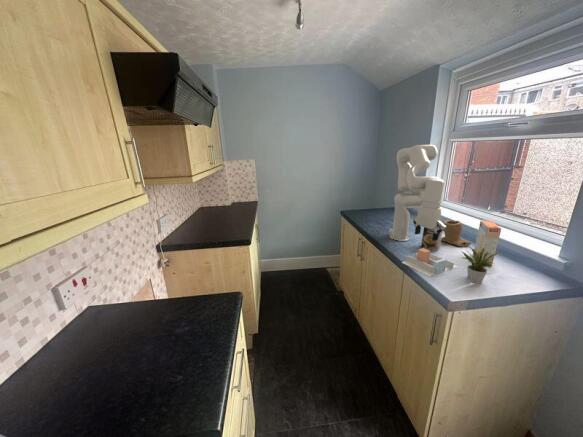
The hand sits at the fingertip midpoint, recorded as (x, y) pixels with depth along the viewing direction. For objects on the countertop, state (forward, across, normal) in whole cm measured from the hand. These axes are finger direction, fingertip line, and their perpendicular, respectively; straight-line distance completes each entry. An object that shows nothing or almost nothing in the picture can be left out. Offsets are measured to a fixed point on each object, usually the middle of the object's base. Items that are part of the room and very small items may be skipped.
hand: (425, 237), depth 118 cm
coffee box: (+17, -12, +23) cm, 31 cm away
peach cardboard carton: (+15, +1, 0) cm, 15 cm away
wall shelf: (+16, +2, +3) cm, 16 cm away
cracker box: (+17, +10, +35) cm, 40 cm away
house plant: (+16, +21, +10) cm, 28 cm away
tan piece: (+17, -12, +45) cm, 49 cm away
